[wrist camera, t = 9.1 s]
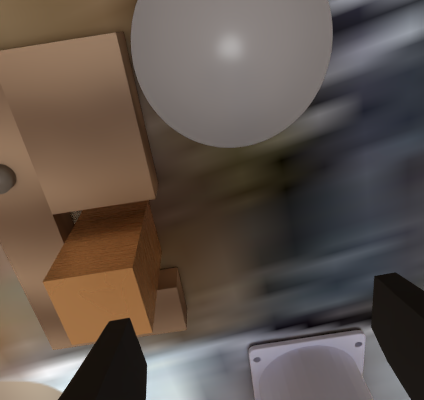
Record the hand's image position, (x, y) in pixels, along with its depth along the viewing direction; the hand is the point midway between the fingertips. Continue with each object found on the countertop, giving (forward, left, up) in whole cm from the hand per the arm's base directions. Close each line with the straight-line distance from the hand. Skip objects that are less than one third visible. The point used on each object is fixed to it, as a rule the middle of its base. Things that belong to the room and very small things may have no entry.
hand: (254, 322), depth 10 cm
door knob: (+7, -1, -9) cm, 12 cm away
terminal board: (0, +7, -9) cm, 12 cm away
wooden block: (-2, +6, -10) cm, 11 cm away
